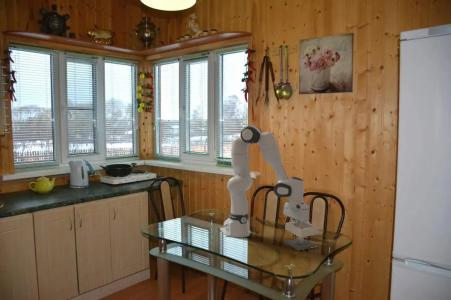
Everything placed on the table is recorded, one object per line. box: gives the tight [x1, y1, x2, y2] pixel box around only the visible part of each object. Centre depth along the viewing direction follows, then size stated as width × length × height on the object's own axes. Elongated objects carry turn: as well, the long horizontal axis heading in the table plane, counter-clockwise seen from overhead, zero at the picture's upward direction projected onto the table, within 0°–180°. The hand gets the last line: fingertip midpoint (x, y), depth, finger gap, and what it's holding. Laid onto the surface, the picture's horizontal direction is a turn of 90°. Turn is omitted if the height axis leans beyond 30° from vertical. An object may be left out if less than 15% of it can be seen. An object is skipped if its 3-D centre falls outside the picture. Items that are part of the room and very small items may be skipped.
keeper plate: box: [283, 236, 319, 251], centre depth 206 cm, size 14×14×8 cm
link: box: [284, 220, 320, 237], centre depth 206 cm, size 14×14×4 cm
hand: (295, 225), depth 211 cm, fingers closed on link, 2 cm apart
